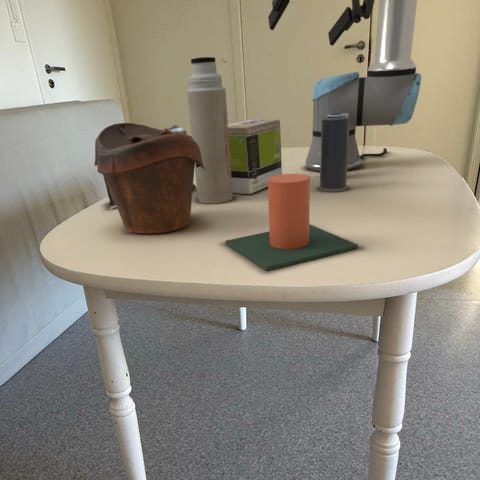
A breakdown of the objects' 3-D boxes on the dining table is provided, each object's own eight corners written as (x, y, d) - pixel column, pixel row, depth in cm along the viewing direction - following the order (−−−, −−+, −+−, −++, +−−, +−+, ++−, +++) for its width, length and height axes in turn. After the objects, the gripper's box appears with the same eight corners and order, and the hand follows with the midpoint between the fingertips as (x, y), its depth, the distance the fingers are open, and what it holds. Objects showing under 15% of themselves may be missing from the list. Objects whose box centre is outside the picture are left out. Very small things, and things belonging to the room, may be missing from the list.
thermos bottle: (236, 194, 104) (227, 56, 91) (228, 203, 98) (217, 55, 84) (203, 195, 106) (190, 59, 93) (193, 203, 99) (177, 58, 86)
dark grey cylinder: (335, 184, 107) (338, 116, 100) (352, 189, 102) (356, 117, 95) (314, 188, 105) (315, 119, 98) (329, 193, 100) (332, 120, 93)
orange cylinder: (295, 234, 74) (295, 172, 70) (316, 244, 69) (318, 178, 65) (262, 241, 72) (260, 177, 67) (282, 252, 67) (281, 184, 62)
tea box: (250, 179, 119) (247, 119, 112) (283, 182, 113) (282, 118, 106) (215, 191, 108) (210, 126, 101) (250, 195, 103) (246, 126, 96)
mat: (307, 226, 79) (307, 223, 79) (357, 248, 68) (358, 244, 68) (225, 244, 74) (225, 240, 73) (266, 271, 63) (266, 267, 62)
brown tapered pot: (197, 239, 77) (185, 127, 68) (90, 239, 80) (65, 132, 72) (219, 211, 92) (211, 116, 83) (128, 212, 96) (112, 122, 87)
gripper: (304, -83, 63) (245, 34, 82) (436, -32, 72) (356, 61, 92) (298, -126, 64) (241, -2, 83) (428, -71, 74) (351, 29, 93)
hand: (301, 31), depth 87 cm, fingers open, 13 cm apart
